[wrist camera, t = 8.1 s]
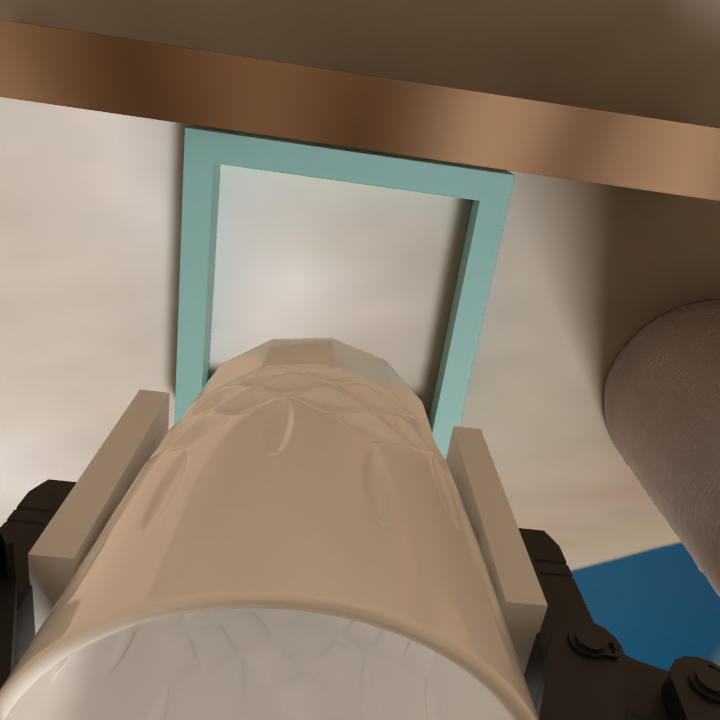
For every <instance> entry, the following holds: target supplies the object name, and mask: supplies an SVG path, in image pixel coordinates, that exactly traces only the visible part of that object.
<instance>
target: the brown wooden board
mask: <svg viewBox="0 0 720 720" xmlns="http://www.w3.org/2000/svg"><path fill="white" fill-rule="evenodd" d="M0 97H5V98H12V99H19V100H26V101H33V102H40V103H47V104H53V105H60V106H67V107H74V108H81V109H88V110H95V111H102V112H109V113H116V114H123V115H129V116H136V117H143V118H150V119H157V120H164V121H171V122H178V123H185V124H192V125H199V126H206V127H212V128H219V129H226V130H233V131H240V132H247V133H254V134H261V135H268V136H275V137H282V138H288V139H295V140H302V141H309V142H316V143H323V144H330V145H337V146H344V147H351V148H358V149H364V150H371V151H378V152H385V153H392V154H399V155H406V156H413V157H420V158H427V159H434V160H440V161H447V162H454V163H461V164H468V165H475V166H482V167H489V168H496V169H503V170H510V171H516V172H523V173H530V174H537V175H544V176H551V177H558V178H565V179H572V180H579V181H586V182H593V183H599V184H606V185H613V186H620V187H627V188H634V189H641V190H648V191H655V192H662V193H669V194H675V195H682V196H689V197H696V198H703V199H710V200H717V201H720V128H713V127H707V126H700V125H693V124H687V123H680V122H674V121H667V120H660V119H654V118H647V117H641V116H634V115H627V114H621V113H614V112H608V111H601V110H594V109H588V108H581V107H574V106H568V105H561V104H555V103H548V102H541V101H535V100H528V99H522V98H515V97H508V96H502V95H495V94H489V93H482V92H475V91H469V90H462V89H455V88H449V87H442V86H436V85H429V84H422V83H416V82H409V81H403V80H396V79H389V78H383V77H376V76H370V75H363V74H356V73H350V72H343V71H337V70H330V69H323V68H317V67H310V66H303V65H297V64H290V63H284V62H277V61H270V60H264V59H257V58H251V57H244V56H237V55H231V54H224V53H218V52H211V51H204V50H198V49H191V48H184V47H178V46H171V45H165V44H158V43H151V42H145V41H138V40H132V39H125V38H118V37H112V36H105V35H99V34H92V33H85V32H79V31H72V30H66V29H59V28H52V27H46V26H39V25H32V24H26V23H19V22H13V21H6V20H0Z"/></svg>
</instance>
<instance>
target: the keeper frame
mask: <svg viewBox="0 0 720 720" xmlns="http://www.w3.org/2000/svg"><path fill="white" fill-rule="evenodd" d="M220 164H223V165H231V166H238V167H245V168H252V169H259V170H266V171H273V172H280V173H287V174H294V175H301V176H308V177H315V178H322V179H329V180H336V181H343V182H351V183H358V184H365V185H372V186H379V187H386V188H393V189H400V190H407V191H414V192H421V193H428V194H435V195H442V196H449V197H456V198H464V199H471V200H473V203H472V208H471V213H470V218H469V223H468V228H467V233H466V238H465V243H464V248H463V253H462V258H461V263H460V268H459V273H458V278H457V283H456V288H455V293H454V298H453V303H452V308H451V313H450V318H449V322H448V327H447V332H446V337H445V342H444V347H443V352H442V357H441V362H440V367H439V372H438V377H437V382H436V387H435V392H434V397H433V402H432V407H431V412H430V417H429V418H428V422H429V425H430V428H431V431H432V434H433V438H434V440H435V443H436V445H437V447H438V448H439V450H440V452H441V454H442V456H447V453H448V448H449V443H450V439H451V434H452V430H453V426H456V427H459V425H460V420H461V416H462V411H463V407H464V402H465V398H466V393H467V389H468V384H469V380H470V375H471V371H472V366H473V362H474V357H475V353H476V348H477V344H478V339H479V335H480V330H481V326H482V321H483V317H484V312H485V308H486V303H487V299H488V294H489V290H490V285H491V281H492V276H493V272H494V267H495V263H496V258H497V254H498V249H499V245H500V240H501V236H502V231H503V227H504V222H505V218H506V213H507V209H508V204H509V200H510V195H511V191H512V186H513V182H514V177H515V175H513V174H512V173H510V172H508V171H505V170H498V169H491V168H484V167H477V166H470V165H463V164H457V163H450V162H443V161H436V160H429V159H422V158H415V157H408V156H401V155H394V154H387V153H380V152H374V151H367V150H360V149H353V148H346V147H339V146H332V145H325V144H318V143H311V142H304V141H298V140H291V139H284V138H277V137H270V136H263V135H256V134H249V133H242V132H235V131H228V130H221V129H215V128H208V127H201V126H194V125H193V126H189V127H186V128H185V139H184V167H183V195H182V224H181V252H180V280H179V308H178V337H177V365H176V393H175V421H174V424H176V423H178V422H179V421H181V419H182V417H183V416H184V414H185V412H186V411H187V409H188V408H189V406H190V405H191V404H192V402H193V401H194V400H195V398H196V397H197V395H198V394H199V393H200V391H201V390H202V389H203V387H204V386H205V385H206V383H207V382H208V375H209V358H210V340H211V322H212V304H213V286H214V268H215V250H216V232H217V215H218V197H219V179H220Z"/></svg>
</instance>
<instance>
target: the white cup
mask: <svg viewBox="0 0 720 720" xmlns="http://www.w3.org/2000/svg"><path fill="white" fill-rule="evenodd" d="M0 720H540V719H539V717H538V714H537V711H536V708H535V705H534V702H533V700H532V697H531V694H530V691H529V688H528V685H527V683H526V680H525V677H524V674H523V671H522V668H521V665H520V663H519V660H518V657H517V654H516V651H515V648H514V645H513V642H512V639H511V637H510V634H509V631H508V628H507V625H506V622H505V619H504V616H503V613H502V610H501V608H500V605H499V602H498V599H497V596H496V593H495V590H494V587H493V584H492V581H491V578H490V576H489V573H488V570H487V567H486V564H485V561H484V558H483V555H482V552H481V549H480V546H479V544H478V541H477V538H476V536H475V533H474V531H473V528H472V526H471V523H470V521H469V518H468V516H467V514H466V511H465V508H464V506H463V503H462V500H461V498H460V495H459V492H458V489H457V487H456V484H455V482H454V479H453V477H452V474H451V471H450V469H449V467H448V465H447V463H446V461H445V459H444V457H443V456H442V454H441V452H440V450H439V448H438V447H437V445H436V443H435V440H434V438H433V434H432V431H431V428H430V425H429V422H428V418H427V415H426V412H425V409H424V406H423V403H422V401H421V400H420V399H419V397H418V396H417V395H416V394H415V393H414V392H413V391H412V390H411V388H410V387H409V386H408V385H407V384H406V383H405V382H404V381H403V379H402V378H401V377H400V376H399V375H398V374H397V373H396V372H395V370H394V369H393V368H392V367H391V366H390V365H389V364H388V363H387V361H385V360H383V359H381V358H379V357H376V356H374V355H372V354H369V353H367V352H364V351H362V350H360V349H357V348H355V347H352V346H350V345H348V344H345V343H343V342H340V341H338V340H336V339H333V338H303V339H272V340H270V341H268V342H265V343H263V344H261V345H259V346H257V347H255V348H253V349H251V350H249V351H247V352H245V353H243V354H241V355H239V356H237V357H235V358H233V359H231V360H229V361H227V362H225V363H223V364H221V365H220V366H219V367H218V368H217V370H216V371H215V373H214V374H213V375H212V377H211V378H210V379H209V381H208V382H207V383H206V385H205V386H204V387H203V389H202V390H201V391H200V393H199V394H198V395H197V397H196V398H195V400H194V401H193V402H192V404H191V405H190V406H189V408H188V409H187V411H186V412H185V414H184V416H183V417H182V419H181V421H179V422H178V423H176V424H175V425H174V426H173V427H172V428H171V429H170V430H169V431H168V433H167V434H166V436H165V437H164V439H163V440H162V442H161V443H160V445H159V446H158V448H157V450H156V451H155V452H154V454H153V455H152V456H151V457H150V458H149V460H148V461H146V463H145V465H144V467H143V468H142V470H141V471H140V473H139V474H138V476H137V477H136V479H135V480H134V482H133V483H132V485H131V486H130V488H129V489H128V491H127V492H126V494H125V496H124V497H123V499H122V500H121V502H120V503H119V505H118V506H117V508H116V509H115V511H114V513H113V514H112V516H111V517H110V519H109V521H108V522H107V524H106V525H105V527H104V528H103V530H102V532H101V533H100V535H99V536H98V538H97V539H96V541H95V542H94V544H93V546H92V547H91V549H90V550H89V552H88V553H87V555H86V557H85V558H84V560H83V561H82V563H81V564H80V566H79V568H78V569H77V571H76V572H75V574H74V576H73V577H72V579H71V580H70V582H69V583H68V585H67V587H66V588H65V590H64V591H63V593H62V594H61V596H60V597H59V599H58V601H57V602H56V604H55V605H54V607H53V608H52V610H51V612H50V613H49V615H48V616H47V618H46V619H45V621H44V622H43V624H42V625H41V627H40V629H39V630H38V632H37V633H36V635H35V636H34V638H33V639H32V641H31V642H30V644H29V646H28V647H27V649H26V650H25V652H24V653H23V655H22V656H21V658H20V659H19V661H18V663H17V664H16V666H15V667H14V669H13V670H12V672H11V673H10V675H9V676H8V678H7V679H6V681H5V683H4V684H3V686H2V687H1V689H0Z"/></svg>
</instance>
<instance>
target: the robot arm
mask: <svg viewBox="0 0 720 720" xmlns="http://www.w3.org/2000/svg"><path fill="white" fill-rule="evenodd" d="M168 420H169V393H165V392H156V391H148V390H139V392H138V393H137V395H136V396H135V398H134V399H133V401H132V402H131V404H130V405H129V407H128V408H127V409H126V411H125V412H124V414H123V415H122V417H121V418H120V420H119V421H118V423H117V424H116V426H115V427H114V429H113V430H112V431H111V433H110V434H109V436H108V437H107V439H106V440H105V442H104V443H103V445H102V446H101V448H100V449H99V451H98V452H97V453H96V455H95V456H94V458H93V459H92V461H91V462H90V464H89V465H88V467H87V468H86V470H85V471H84V473H83V474H82V475H81V477H80V478H79V480H78V481H77V482H68V481H59V480H47V481H45V482H44V483H42V484H40V485H39V486H37V487H36V488H34V489H32V490H31V491H29V492H28V493H27V495H26V496H25V497H24V498H23V500H22V501H21V502H20V504H19V505H18V506H17V509H16V510H14V511H13V512H12V514H11V515H10V516H9V518H8V519H7V522H5V523H4V524H3V525H2V527H0V689H1V687H2V686H3V684H4V683H5V681H6V679H7V678H8V676H9V675H10V673H11V672H12V670H13V669H14V667H15V666H16V664H17V663H18V661H19V659H20V658H21V656H22V655H23V653H24V652H25V650H26V649H27V647H28V646H29V644H30V642H31V641H32V639H33V638H34V636H35V635H36V633H37V632H38V630H39V629H40V627H41V625H42V624H43V622H44V621H45V619H46V618H47V616H48V615H49V613H50V612H51V610H52V608H53V607H54V605H55V604H56V602H57V601H58V599H59V597H60V596H61V594H62V593H63V591H64V590H65V588H66V587H67V585H68V583H69V582H70V580H71V579H72V577H73V576H74V574H75V572H76V571H77V569H78V568H79V566H80V564H81V563H82V561H83V560H84V558H85V557H86V555H87V553H88V552H89V550H90V549H91V547H92V546H93V544H94V542H95V541H96V539H97V538H98V536H99V535H100V533H101V532H102V530H103V528H104V527H105V525H106V524H107V522H108V521H109V519H110V517H111V516H112V514H113V513H114V511H115V509H116V508H117V506H118V505H119V503H120V502H121V500H122V499H123V497H124V496H125V494H126V492H127V491H128V489H129V488H130V486H131V485H132V483H133V482H134V480H135V479H136V477H137V476H138V474H139V473H140V471H141V470H142V468H143V467H144V465H145V463H146V461H148V460H149V458H150V457H151V456H152V455H153V454H154V452H155V451H156V450H157V448H158V446H159V445H160V443H161V442H162V440H163V439H164V437H165V436H166V434H167V433H168ZM446 463H447V465H448V467H449V469H450V471H451V474H452V477H453V479H454V482H455V484H456V487H457V489H458V492H459V495H460V498H461V500H462V503H463V506H464V508H465V511H466V514H467V516H468V518H469V521H470V523H471V526H472V528H473V531H474V533H475V536H476V538H477V541H478V544H479V546H480V549H481V552H482V555H483V558H484V561H485V564H486V567H487V570H488V573H489V576H490V578H491V581H492V584H493V587H494V590H495V593H496V596H497V599H498V602H499V605H500V608H501V610H502V613H503V616H504V619H505V622H506V625H507V628H508V631H509V634H510V637H511V639H512V642H513V645H514V648H515V651H516V654H517V657H518V660H519V663H520V665H521V668H522V671H523V674H524V677H525V680H526V683H527V685H528V688H529V691H530V694H531V697H532V700H533V702H534V705H535V708H536V711H537V714H538V717H539V719H540V720H720V666H717V665H716V664H714V663H713V662H711V661H707V660H705V659H702V658H698V657H689V656H683V657H681V658H678V659H676V660H674V662H673V664H672V666H671V667H670V670H669V671H666V670H663V669H660V668H657V667H654V666H651V665H648V664H645V663H643V662H640V661H637V660H635V659H633V658H630V657H628V656H626V655H624V652H623V648H622V646H621V645H620V644H619V642H618V641H617V639H616V638H615V637H614V636H613V635H612V634H611V633H609V632H608V631H607V630H606V629H604V628H603V627H601V626H599V625H597V624H595V623H594V622H593V620H592V618H591V615H590V613H589V611H588V609H587V607H586V604H585V602H584V600H583V598H582V596H581V593H580V591H579V589H578V587H577V585H576V582H575V580H574V579H572V573H571V571H570V569H569V567H568V565H566V560H565V558H564V556H563V554H562V551H561V549H560V547H559V545H558V544H557V543H556V542H555V541H554V540H553V539H552V538H551V537H550V536H549V535H548V534H547V533H546V532H545V531H541V530H531V529H522V528H518V526H517V523H516V521H515V518H514V516H513V513H512V510H511V508H510V505H509V502H508V500H507V497H506V495H505V492H504V489H503V487H502V484H501V481H500V479H499V476H498V473H497V471H496V468H495V466H494V463H493V460H492V458H491V455H490V452H489V450H488V447H487V444H486V442H485V439H484V437H483V434H482V431H481V429H473V428H465V427H456V426H453V430H452V434H451V439H450V443H449V448H448V453H447V457H446Z"/></svg>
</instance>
